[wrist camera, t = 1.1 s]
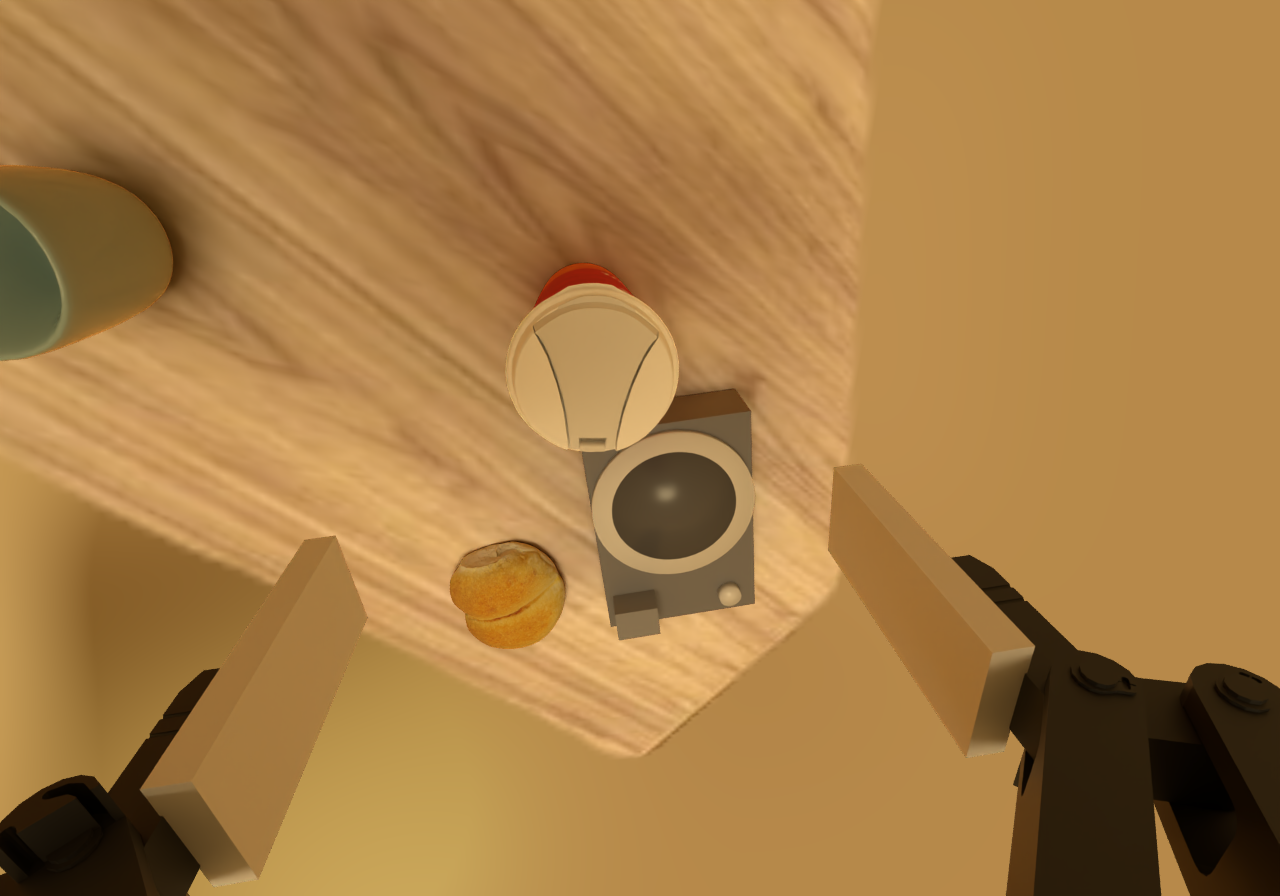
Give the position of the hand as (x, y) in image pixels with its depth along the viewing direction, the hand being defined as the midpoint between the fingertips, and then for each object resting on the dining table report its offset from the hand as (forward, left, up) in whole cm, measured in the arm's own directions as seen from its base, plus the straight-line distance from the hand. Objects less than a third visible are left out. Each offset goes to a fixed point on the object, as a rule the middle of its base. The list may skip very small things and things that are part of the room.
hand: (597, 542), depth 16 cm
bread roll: (+20, -8, -25) cm, 33 cm away
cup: (-7, -24, -25) cm, 36 cm away
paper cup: (0, +1, -25) cm, 25 cm away
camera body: (+15, +5, -25) cm, 29 cm away
